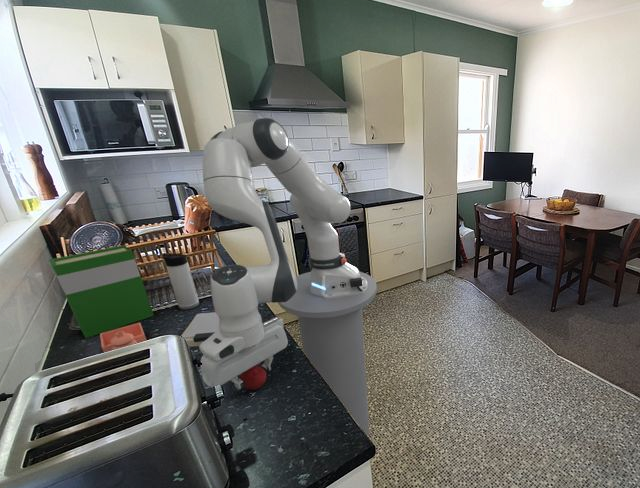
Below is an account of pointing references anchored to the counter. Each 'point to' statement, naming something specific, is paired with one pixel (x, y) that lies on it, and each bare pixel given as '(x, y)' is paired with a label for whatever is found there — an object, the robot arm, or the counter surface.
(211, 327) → the scale
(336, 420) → the counter surface
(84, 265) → the green box
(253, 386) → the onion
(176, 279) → the travel mug
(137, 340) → the red box
